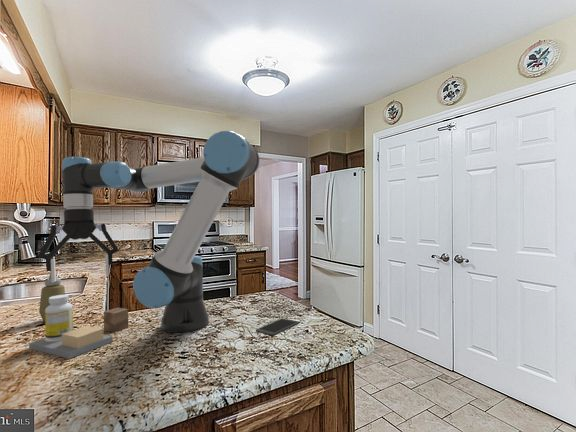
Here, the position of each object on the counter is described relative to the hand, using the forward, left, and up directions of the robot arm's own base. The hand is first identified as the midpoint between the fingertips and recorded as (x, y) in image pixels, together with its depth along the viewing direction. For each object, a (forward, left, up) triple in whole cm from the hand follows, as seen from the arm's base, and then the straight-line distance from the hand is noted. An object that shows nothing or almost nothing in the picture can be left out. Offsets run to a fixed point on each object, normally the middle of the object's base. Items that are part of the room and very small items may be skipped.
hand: (81, 278), depth 95 cm
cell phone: (-52, -29, -18) cm, 62 cm away
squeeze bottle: (+27, -7, -18) cm, 33 cm away
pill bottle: (+3, +5, -16) cm, 17 cm away
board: (-3, +5, -18) cm, 19 cm away
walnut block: (-3, -9, -18) cm, 20 cm away
